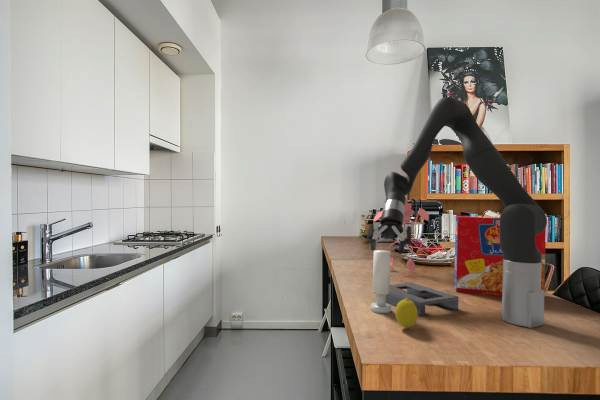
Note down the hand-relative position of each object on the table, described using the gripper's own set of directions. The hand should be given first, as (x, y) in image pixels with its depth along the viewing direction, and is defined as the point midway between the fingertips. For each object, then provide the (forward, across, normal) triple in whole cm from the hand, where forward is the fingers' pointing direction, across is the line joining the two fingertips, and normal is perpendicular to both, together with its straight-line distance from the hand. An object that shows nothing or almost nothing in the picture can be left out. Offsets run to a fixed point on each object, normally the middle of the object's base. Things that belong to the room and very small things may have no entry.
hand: (386, 251), depth 116 cm
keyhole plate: (+9, +9, +15) cm, 20 cm away
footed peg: (+18, 0, +6) cm, 19 cm away
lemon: (+27, +9, -3) cm, 28 cm away
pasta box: (-11, +35, +35) cm, 50 cm away
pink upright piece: (-25, -3, +49) cm, 55 cm away
